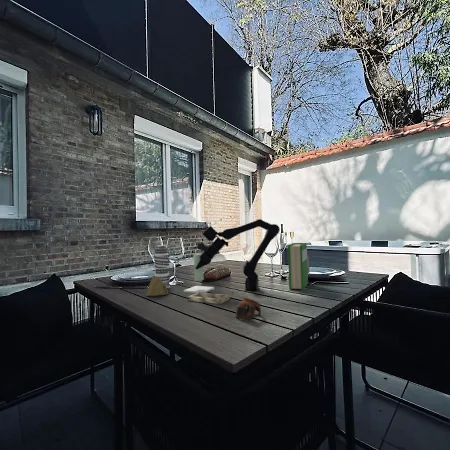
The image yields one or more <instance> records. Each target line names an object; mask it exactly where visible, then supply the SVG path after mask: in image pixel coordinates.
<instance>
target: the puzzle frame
mask: <svg viewBox="0 0 450 450" xmlns="http://www.w3.org/2000/svg"><path fill="white" fill-rule="evenodd" d="M230 298H231V297H230V294H221V293H210V292H206V293H201V292H198V293H193V294H191V295H188V296H187V301H189V302H195V303H196V302H197V303H207V304H208V303H209V304H216V305H217V304H218V305H221V304H224V303H225V302H227V301H229V300H230Z"/></svg>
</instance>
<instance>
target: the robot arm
mask: <svg viewBox="0 0 450 450" xmlns="http://www.w3.org/2000/svg"><path fill="white" fill-rule="evenodd" d="M256 228H262V229H263V230H265V235H264V238H263V239H262V241H261V242H260V243H259V245H258V247H257V249H256V250H255V251H254V253H253V255H252V257H251V258H250V259H249V260H245V262H244V264H243V265H242V272H243V274H244V276H245V277H246V278H245V281H244V284H245V285H244V286H245V289H244V290H245V291H250V292H257V291H259V290H260V289H261V288H260V287H259V286H260V285H259V275H258V274H257V272H256V268H257V265H258V262H259V261H260V259H261V258H262V256H263V254H264V253H265V251H266V249H268V246H269V244H270V243H271V242H272V240H273V239H274V238H276V236H277V235H278V234H279V233H280V229H281V228H280V226H279V225H278V224H275V223H272V224H271V223H270V222H268V221H265V220H263V219H261V218H259V219H256V220H254V221H251V222H248V223H245V224H243V225H240V226H237V227H231V228H226V229H224V230H223V231H219V232H218V231H216V229H214V227H213V226H211V225H209V227H208V228H207V229H206V230H204V232H203V233H202V236H203V237H204V238H205V239H206V240H208V242H210V241H211V242H212V243H211V244H209V245H207V244H205V243H204V242H198V243H197V245H196V249H197V250H200V251H202V253H200V254H201V256H200V261H199V263H198V264H197V266H196V268H195V269H199V268H201V267H203V268H204V267H205V266H207V265H210V264H211V263H212V260H213V259H214V257H216V256H217V254H218V253H219V252H220V251H221V250H222V249H223V248H224V246H226V247H227V248H228V247H229V240H231V239H232V238H235V237H236V236H238V235H240V234H242V233H245V232H248V231H250V230H253V229H256ZM226 240H228V241H226Z"/></svg>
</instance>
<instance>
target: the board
mask: <svg viewBox="0 0 450 450" xmlns="http://www.w3.org/2000/svg"><path fill="white" fill-rule="evenodd" d="M214 290H215V286H206V285H205V286H202V285H195V286H191V287H190V288H189V287H188V288H186V289H184V290H183V292H184V293H189V294H190V293H193V294H195V293H198V292H201V293H209V292H210V291H214Z"/></svg>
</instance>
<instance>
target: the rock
mask: <svg viewBox="0 0 450 450" xmlns="http://www.w3.org/2000/svg"><path fill="white" fill-rule="evenodd" d="M163 295H169V288H168V289H167V287H166V285H165V284H164V283H163V282H162V281H161V280H160V279H159V278H158V277H157V276H155V275H153V276H152V278H151V280H150V282H149V285H148V287H147V291H146V295H145V296H146V297H148V296H149V297H156V296H163Z"/></svg>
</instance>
